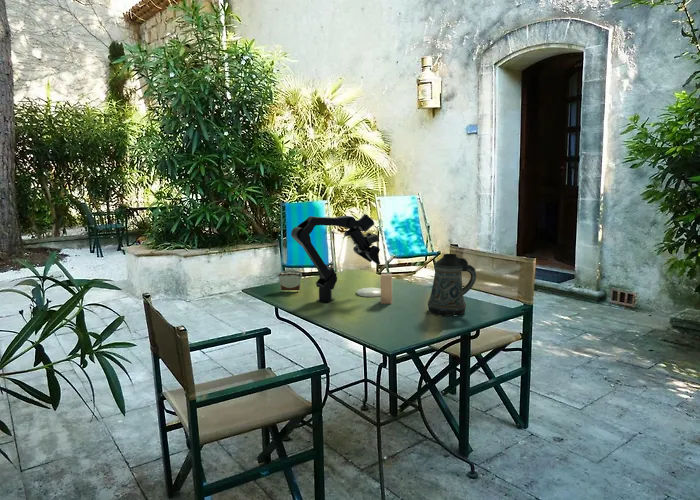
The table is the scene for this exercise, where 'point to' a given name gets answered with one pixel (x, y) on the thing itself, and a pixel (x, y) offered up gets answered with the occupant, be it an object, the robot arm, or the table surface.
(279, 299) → the table surface
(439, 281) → the beer stein
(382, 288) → the tan tall block
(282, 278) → the food container
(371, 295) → the cream plate
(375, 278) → the table surface
